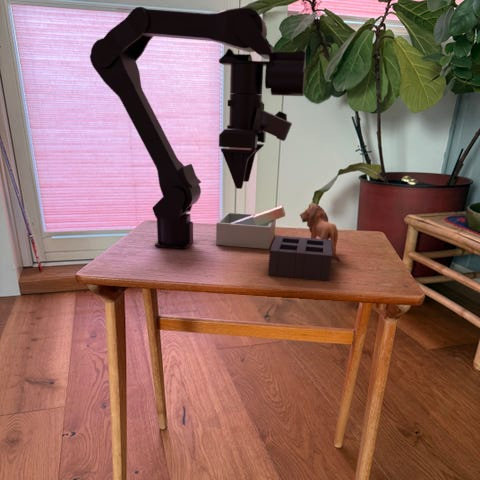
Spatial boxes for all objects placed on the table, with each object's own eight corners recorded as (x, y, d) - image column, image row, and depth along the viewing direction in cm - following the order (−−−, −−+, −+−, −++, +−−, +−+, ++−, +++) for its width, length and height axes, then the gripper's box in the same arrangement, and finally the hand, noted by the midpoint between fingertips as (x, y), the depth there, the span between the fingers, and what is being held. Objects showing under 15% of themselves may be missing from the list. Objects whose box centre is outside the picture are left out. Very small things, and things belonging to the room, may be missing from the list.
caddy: (268, 275, 79) (269, 250, 78) (274, 258, 89) (276, 235, 87) (328, 281, 78) (332, 255, 76) (328, 262, 87) (331, 239, 85)
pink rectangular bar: (225, 226, 99) (281, 206, 95) (227, 224, 101) (282, 204, 98) (229, 236, 100) (285, 217, 96) (231, 234, 102) (285, 214, 99)
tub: (216, 244, 96) (216, 223, 94) (226, 232, 106) (227, 212, 104) (268, 249, 94) (270, 227, 92) (274, 235, 104) (275, 215, 102)
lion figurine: (294, 244, 99) (298, 202, 95) (316, 242, 100) (320, 201, 96) (328, 264, 86) (333, 217, 82) (352, 263, 88) (359, 216, 84)
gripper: (288, 94, 71) (281, 195, 78) (293, 97, 88) (287, 180, 95) (219, 91, 73) (217, 191, 79) (236, 95, 90) (234, 177, 96)
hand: (242, 184), depth 87 cm, fingers open, 9 cm apart
